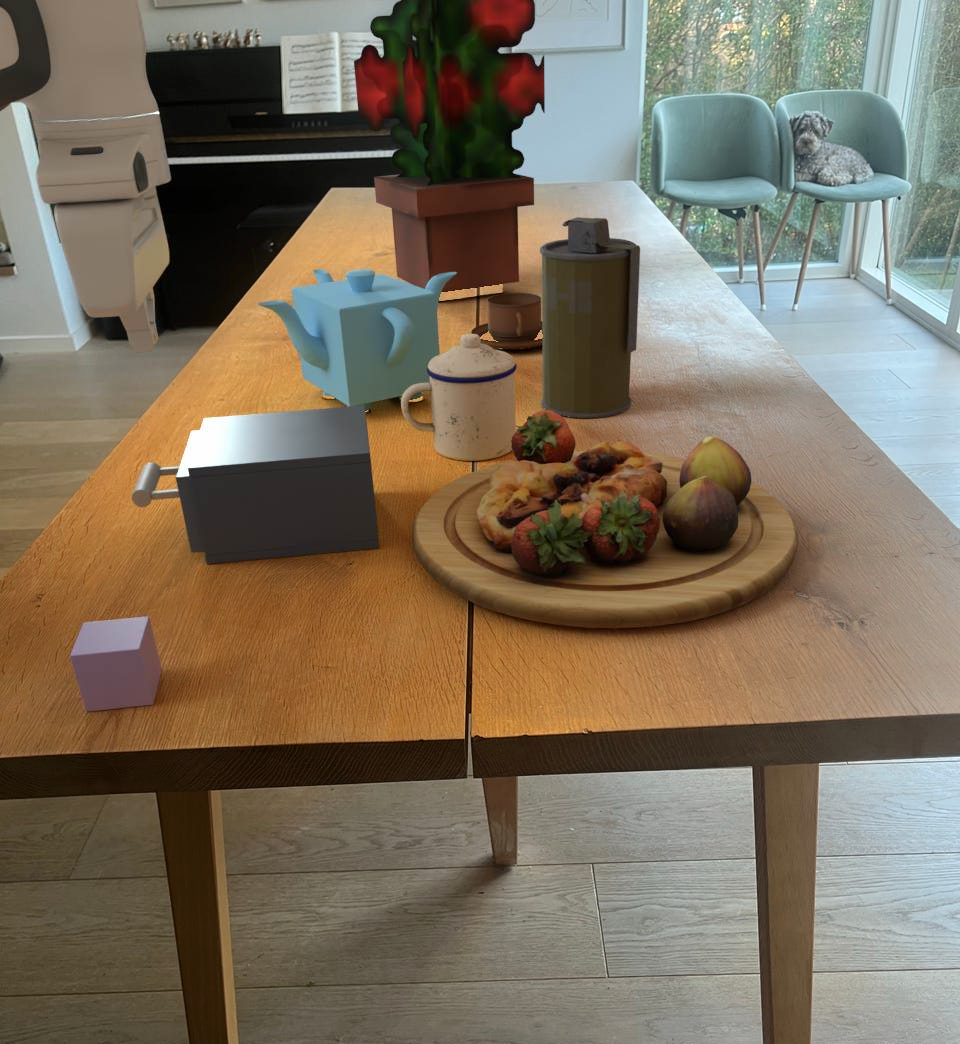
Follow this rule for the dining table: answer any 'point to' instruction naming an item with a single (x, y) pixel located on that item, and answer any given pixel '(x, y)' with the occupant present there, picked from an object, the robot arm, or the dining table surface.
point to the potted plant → (453, 134)
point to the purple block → (116, 663)
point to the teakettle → (364, 334)
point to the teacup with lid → (469, 401)
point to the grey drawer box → (284, 484)
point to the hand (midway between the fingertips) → (145, 348)
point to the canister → (588, 320)
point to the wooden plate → (605, 532)
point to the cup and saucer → (512, 321)
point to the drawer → (172, 491)
